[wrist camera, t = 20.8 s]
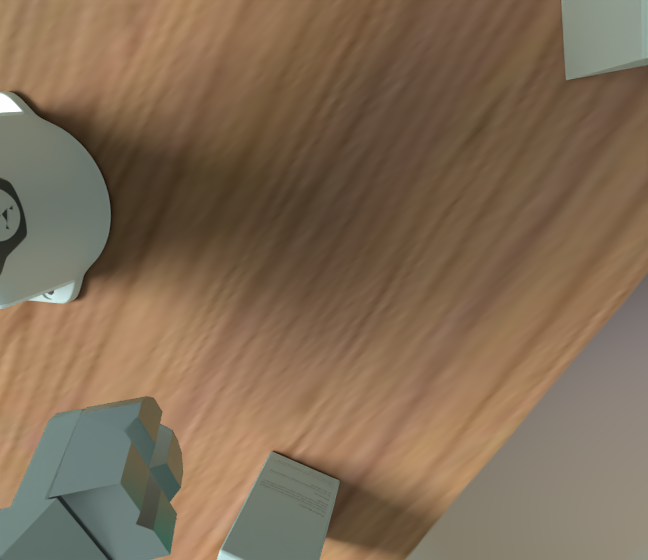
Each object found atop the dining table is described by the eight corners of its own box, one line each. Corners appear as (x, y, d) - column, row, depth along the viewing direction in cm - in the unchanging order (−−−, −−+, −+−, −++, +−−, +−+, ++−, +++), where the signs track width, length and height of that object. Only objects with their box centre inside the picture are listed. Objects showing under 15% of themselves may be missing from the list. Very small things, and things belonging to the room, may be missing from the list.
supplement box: (249, 505, 54) (193, 616, 42) (271, 447, 51) (218, 548, 39) (317, 537, 53) (280, 659, 41) (343, 480, 50) (312, 592, 39)
